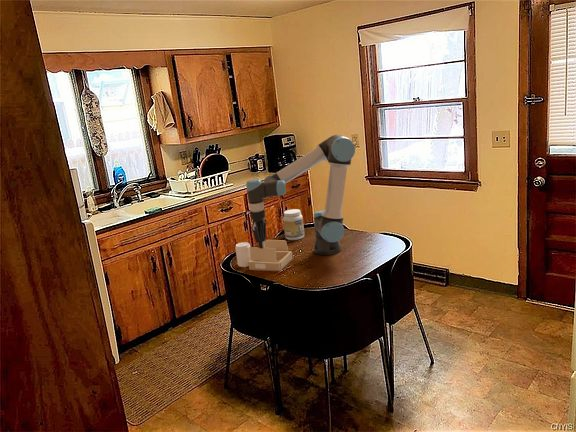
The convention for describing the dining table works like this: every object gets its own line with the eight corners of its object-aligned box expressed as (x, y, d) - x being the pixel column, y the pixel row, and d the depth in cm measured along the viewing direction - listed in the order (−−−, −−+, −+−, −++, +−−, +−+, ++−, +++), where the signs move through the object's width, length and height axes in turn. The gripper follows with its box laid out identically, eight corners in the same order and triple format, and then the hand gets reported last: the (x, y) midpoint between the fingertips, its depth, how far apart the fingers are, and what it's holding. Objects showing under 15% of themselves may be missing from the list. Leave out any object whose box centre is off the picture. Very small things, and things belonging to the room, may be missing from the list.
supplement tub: (301, 240, 282) (298, 214, 277) (282, 240, 286) (279, 214, 282) (307, 234, 292) (304, 208, 288) (289, 234, 297) (286, 208, 292)
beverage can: (250, 267, 249) (247, 246, 245) (236, 268, 250) (233, 247, 247) (254, 261, 256) (251, 241, 253) (240, 262, 258) (237, 242, 255)
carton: (293, 259, 253) (292, 251, 252) (280, 271, 238) (279, 263, 237) (262, 257, 261) (261, 250, 260) (248, 269, 246) (247, 261, 245)
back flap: (260, 240, 254) (260, 239, 254) (263, 249, 258) (264, 249, 258) (285, 240, 248) (285, 240, 248) (288, 250, 252) (288, 249, 252)
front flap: (275, 248, 237) (275, 248, 237) (276, 260, 238) (276, 261, 238) (249, 247, 243) (249, 247, 243) (251, 259, 244) (250, 259, 244)
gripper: (256, 206, 242) (261, 248, 249) (244, 213, 231) (250, 257, 238) (269, 206, 239) (274, 249, 246) (257, 214, 228) (263, 258, 235)
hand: (262, 253), depth 242 cm, fingers closed
